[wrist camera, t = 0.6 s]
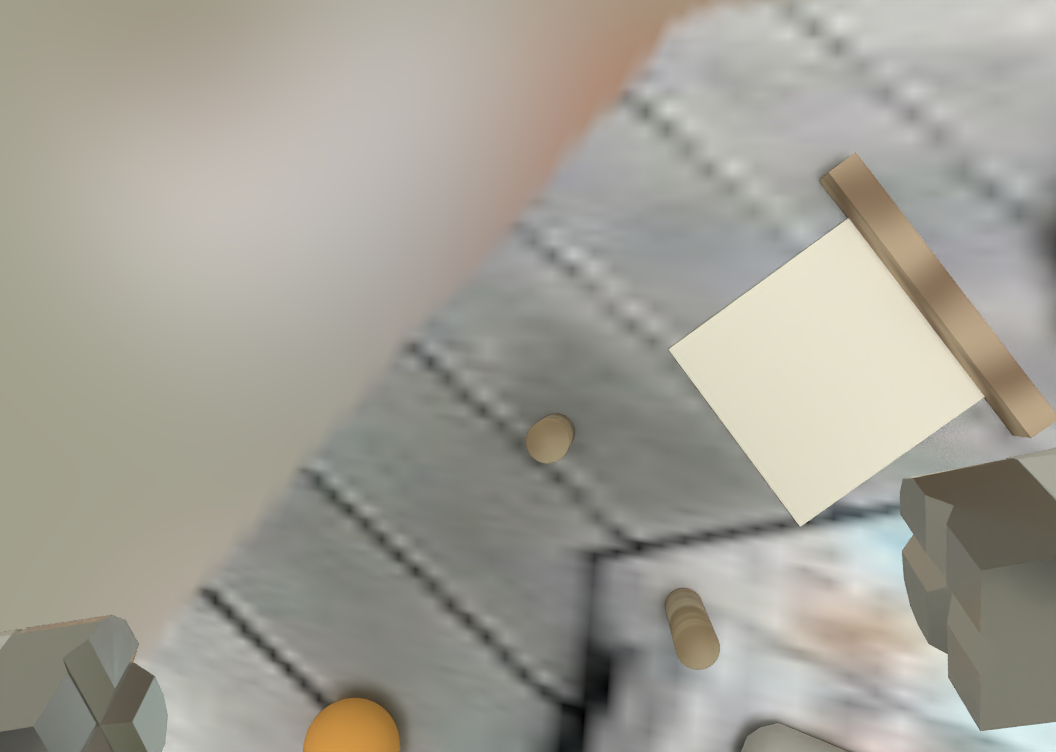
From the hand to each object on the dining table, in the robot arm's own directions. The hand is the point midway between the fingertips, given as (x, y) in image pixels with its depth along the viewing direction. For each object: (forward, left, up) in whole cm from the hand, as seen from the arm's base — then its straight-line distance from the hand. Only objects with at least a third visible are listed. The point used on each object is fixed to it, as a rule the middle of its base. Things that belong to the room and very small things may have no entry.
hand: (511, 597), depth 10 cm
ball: (-8, +25, -47) cm, 54 cm away
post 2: (-14, +3, -50) cm, 52 cm away
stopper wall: (-7, -21, -50) cm, 55 cm away
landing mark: (-7, -13, -50) cm, 53 cm away
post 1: (0, +3, -50) cm, 50 cm away
